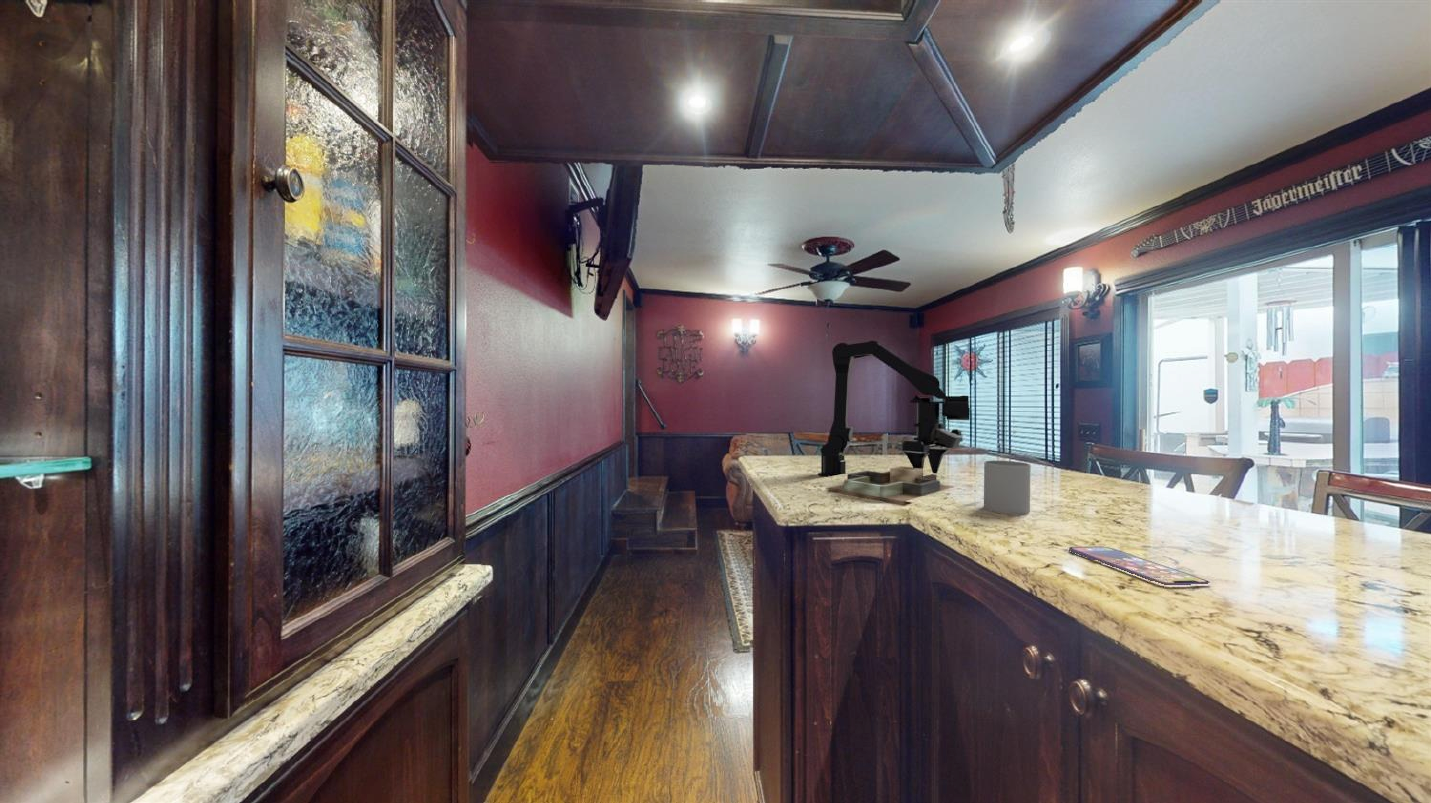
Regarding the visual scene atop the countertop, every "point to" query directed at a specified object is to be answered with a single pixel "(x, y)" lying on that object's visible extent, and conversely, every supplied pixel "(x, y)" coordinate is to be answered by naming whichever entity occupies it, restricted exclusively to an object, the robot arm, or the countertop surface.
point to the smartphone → (1138, 566)
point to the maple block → (905, 474)
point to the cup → (1007, 487)
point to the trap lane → (887, 487)
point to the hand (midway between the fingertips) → (927, 475)
